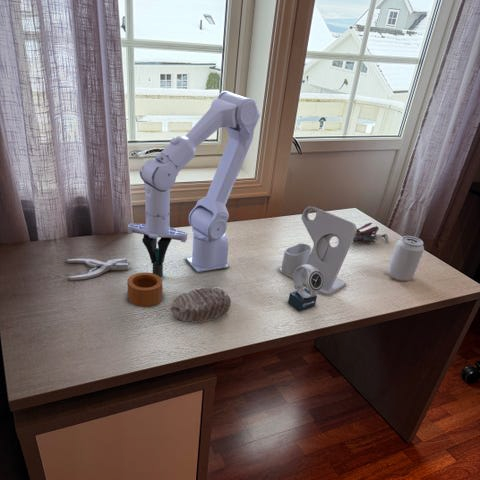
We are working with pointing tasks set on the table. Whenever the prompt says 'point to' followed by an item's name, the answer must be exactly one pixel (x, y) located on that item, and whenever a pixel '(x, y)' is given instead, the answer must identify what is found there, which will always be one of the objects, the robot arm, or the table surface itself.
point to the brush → (157, 264)
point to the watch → (305, 297)
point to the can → (406, 258)
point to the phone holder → (321, 249)
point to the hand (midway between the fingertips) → (157, 262)
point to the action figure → (368, 234)
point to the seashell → (201, 304)
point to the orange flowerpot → (145, 289)
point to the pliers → (109, 265)
